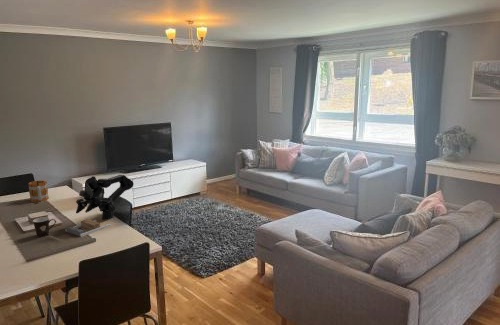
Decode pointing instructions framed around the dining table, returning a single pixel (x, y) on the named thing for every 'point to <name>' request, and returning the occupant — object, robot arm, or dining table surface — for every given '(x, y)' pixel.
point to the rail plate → (80, 232)
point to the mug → (38, 191)
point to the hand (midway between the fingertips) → (81, 212)
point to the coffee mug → (42, 226)
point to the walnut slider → (90, 224)
